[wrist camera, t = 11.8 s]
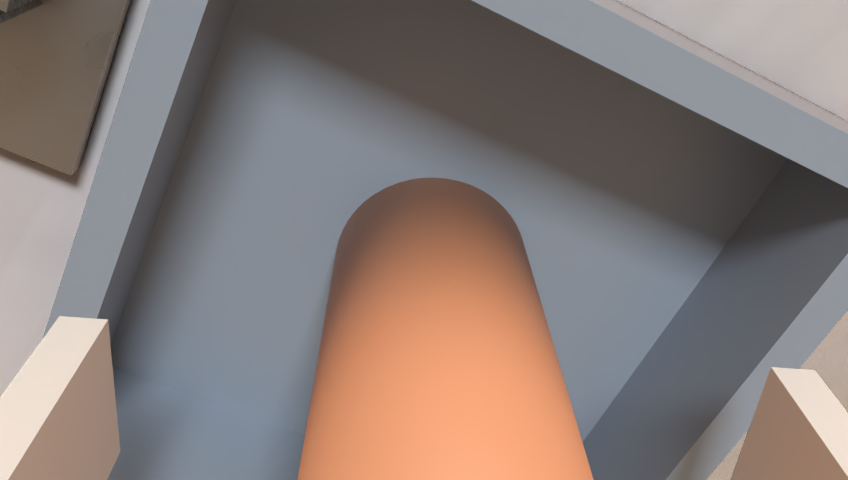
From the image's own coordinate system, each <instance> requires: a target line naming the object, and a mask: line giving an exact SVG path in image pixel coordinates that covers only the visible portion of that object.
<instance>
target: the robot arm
mask: <svg viewBox="0 0 848 480" xmlns="http://www.w3.org/2000/svg"><path fill="white" fill-rule="evenodd" d="M119 453H120V442H119V431H118V420H117V409H116V399H115V388H114V377H113V366H112V356H111V345H110V334H109V323H108V319H94V318H80V317H66V316H59V317H58V319H57V320H56V321H55V323H54V324H53V326H52V327H51V328H50V330H49V331H48V332H47V334H46V335H45V337H44V338H43V339H42V341H41V342H40V343H39V345H38V346H37V347H36V349H35V350H34V352H33V353H32V354H31V356H30V357H29V358H28V360H27V361H26V362H25V364H24V365H23V367H22V368H21V369H20V371H19V372H18V373H17V375H16V376H15V378H14V379H13V380H12V382H11V383H10V384H9V386H8V387H7V388H6V390H5V391H4V393H3V394H2V395H1V397H0V480H107V479H108V477H109V475H110V472H111V470H112V468H113V466H114V464H115V462H116V460H117V458H118V455H119ZM731 480H848V413H847V411H846V410H845V409H844V407H843V406H842V405H841V404H840V402H839V401H838V400H837V398H836V397H835V396H834V395H833V393H832V392H831V391H830V389H829V388H828V387H827V385H826V384H825V383H824V382H823V380H822V379H821V378H820V376H819V375H818V374H817V373H816V371H815V370H806V369H792V368H778V367H771V369H770V372H769V374H768V377H767V380H766V383H765V386H764V388H763V391H762V394H761V397H760V399H759V402H758V405H757V408H756V411H755V413H754V416H753V419H752V422H751V424H750V427H749V430H748V433H747V436H746V438H745V441H744V444H743V447H742V449H741V452H740V455H739V458H738V460H737V463H736V466H735V469H734V472H733V474H732V477H731Z"/></svg>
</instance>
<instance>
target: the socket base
mask: <svg viewBox="0 0 848 480" xmlns="http://www.w3.org/2000/svg"><path fill="white" fill-rule="evenodd" d="M129 3H130V0H0V148H2V149H4V150H7V151H9V152H12V153H15V154H17V155H20V156H22V157H25V158H27V159H30V160H32V161H35V162H37V163H40V164H42V165H45V166H47V167H50V168H52V169H55V170H57V171H60V172H62V173H65V174H67V175H70V176H71V175H72V174H73V173H74V172H75V171H76V170H77V169H78V168H79V166H80V163H81V159H82V156H83V153H84V150H85V146H86V143H87V140H88V137H89V133H90V130H91V127H92V124H93V120H94V117H95V114H96V111H97V107H98V104H99V101H100V98H101V94H102V91H103V88H104V85H105V81H106V78H107V75H108V72H109V68H110V65H111V62H112V59H113V55H114V52H115V49H116V46H117V42H118V39H119V36H120V33H121V29H122V26H123V23H124V20H125V16H126V13H127V10H128V7H129Z"/></svg>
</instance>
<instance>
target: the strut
mask: <svg viewBox="0 0 848 480" xmlns="http://www.w3.org/2000/svg"><path fill="white" fill-rule="evenodd" d="M297 480H594V479H593V476H592V473H591V469H590V466H589V462H588V459H587V456H586V452H585V449H584V446H583V442H582V439H581V435H580V432H579V429H578V425H577V422H576V419H575V415H574V412H573V408H572V405H571V402H570V398H569V395H568V391H567V388H566V385H565V381H564V378H563V375H562V371H561V368H560V364H559V361H558V358H557V354H556V351H555V348H554V344H553V341H552V337H551V334H550V331H549V327H548V324H547V320H546V317H545V314H544V310H543V307H542V304H541V300H540V297H539V293H538V290H537V287H536V283H535V280H534V277H533V273H532V270H531V266H530V263H529V260H528V256H527V253H526V249H525V246H524V243H523V239H522V236H521V234H520V231H519V229H518V226H517V225H516V223H515V221H514V220H513V218H512V216H511V215H510V214H509V213H508V211H507V210H506V209H505V208H504V207H503V206H502V205H501V204H500V203H499V202H498V201H497V200H496V199H494V198H493V197H492V196H490V195H489V194H487V193H486V192H484V191H482V190H480V189H479V188H477V187H475V186H472V185H470V184H467V183H464V182H461V181H457V180H452V179H446V178H437V177H434V178H417V179H410V180H407V181H403V182H399V183H396V184H394V185H391V186H389V187H386V188H384V189H383V190H381V191H379V192H377V193H375V194H374V195H373V196H371V197H370V198H369V199H367V200H366V201H365V202H364V203H363V204H362V205H361V206H359V207H358V208H357V209H356V211H355V212H354V213H353V214H352V216H351V217H350V218H349V220H348V221H347V223H346V225H345V227H344V228H343V230H342V233H341V236H340V238H339V241H338V245H337V250H336V255H335V261H334V267H333V273H332V279H331V284H330V290H329V296H328V302H327V308H326V314H325V320H324V326H323V332H322V338H321V343H320V349H319V355H318V361H317V367H316V373H315V379H314V385H313V391H312V396H311V402H310V408H309V414H308V420H307V426H306V432H305V438H304V444H303V450H302V455H301V461H300V467H299V473H298V479H297Z"/></svg>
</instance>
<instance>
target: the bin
mask: <svg viewBox="0 0 848 480" xmlns="http://www.w3.org/2000/svg"><path fill="white" fill-rule="evenodd" d="M434 177H437V178H446V179H452V180H457V181H461V182H464V183H467V184H470V185H472V186H475V187H477V188H479V189H480V190H482V191H484V192H486V193H487V194H489V195H490V196H492V197H493V198H494V199H496V200H497V201H498V202H499V203H500V204H501V205H502V206H503V207H504V208H505V209H506V210H507V211H508V213H509V214H510V215H511V216H512V218H513V220H514V221H515V223H516V225H517V226H518V229H519V231H520V234H521V236H522V239H523V243H524V246H525V249H526V253H527V256H528V260H529V263H530V266H531V270H532V273H533V277H534V280H535V283H536V287H537V290H538V293H539V297H540V300H541V304H542V307H543V310H544V314H545V317H546V320H547V324H548V327H549V331H550V334H551V337H552V341H553V344H554V348H555V351H556V354H557V358H558V361H559V364H560V368H561V371H562V375H563V378H564V381H565V385H566V388H567V391H568V395H569V398H570V402H571V405H572V408H573V412H574V415H575V419H576V422H577V425H578V429H579V432H580V435H581V439H582V442H583V446H584V449H585V452H586V456H587V459H588V462H589V466H590V469H591V473H592V476H593V479H594V480H706V479H707V478H708V477H709V476H710V475H711V473H712V472H713V471H714V470H715V469H716V467H717V466H718V465H719V464H720V463H721V462H722V460H723V459H724V458H725V457H726V456H727V454H728V453H729V452H730V451H731V450H732V448H733V447H734V446H735V445H736V444H737V442H738V441H739V440H740V439H741V438H742V436H743V435H744V434H745V433H746V432H747V430H748V429H749V427H750V424H751V422H752V419H753V416H754V413H755V411H756V408H757V405H758V402H759V399H760V397H761V394H762V391H763V388H764V386H765V383H766V380H767V377H768V374H769V372H770V369H771V367H778V368H792V369H799V368H800V367H801V366H802V365H803V363H804V362H805V361H806V360H807V359H808V357H809V356H810V355H811V354H812V353H813V351H814V350H815V349H816V348H817V347H818V345H819V344H820V343H821V342H822V341H823V339H824V338H825V337H826V336H827V335H828V333H829V332H830V331H831V330H832V329H833V327H834V326H835V325H836V324H837V323H838V321H839V320H840V319H841V318H842V317H843V315H844V314H845V313H846V312H847V311H848V122H847V121H845V120H844V119H842V118H840V117H839V116H837V115H835V114H833V113H831V112H829V111H827V110H825V109H823V108H822V107H820V106H818V105H816V104H814V103H812V102H810V101H808V100H806V99H804V98H802V97H800V96H799V95H797V94H795V93H793V92H791V91H789V90H787V89H785V88H783V87H781V86H779V85H777V84H776V83H774V82H772V81H770V80H768V79H766V78H764V77H762V76H760V75H758V74H756V73H754V72H753V71H751V70H749V69H747V68H745V67H743V66H741V65H739V64H737V63H735V62H733V61H731V60H730V59H728V58H726V57H724V56H722V55H720V54H718V53H716V52H714V51H712V50H710V49H708V48H707V47H705V46H703V45H701V44H699V43H697V42H695V41H693V40H691V39H689V38H687V37H686V36H684V35H682V34H680V33H678V32H676V31H674V30H672V29H670V28H668V27H666V26H664V25H663V24H661V23H659V22H657V21H655V20H653V19H651V18H649V17H647V16H645V15H643V14H641V13H640V12H638V11H636V10H634V9H632V8H630V7H628V6H626V5H624V4H622V3H620V2H618V1H617V0H151V1H150V4H149V7H148V11H147V14H146V17H145V20H144V23H143V26H142V29H141V32H140V36H139V39H138V42H137V45H136V48H135V51H134V54H133V58H132V61H131V64H130V67H129V70H128V73H127V76H126V80H125V83H124V86H123V89H122V92H121V95H120V98H119V101H118V105H117V108H116V111H115V114H114V117H113V120H112V123H111V127H110V130H109V133H108V136H107V139H106V142H105V145H104V148H103V152H102V155H101V158H100V161H99V164H98V167H97V170H96V174H95V177H94V180H93V183H92V186H91V189H90V192H89V195H88V199H87V202H86V205H85V208H84V211H83V214H82V217H81V221H80V224H79V227H78V230H77V233H76V236H75V239H74V243H73V246H72V249H71V252H70V255H69V258H68V261H67V264H66V268H65V271H64V274H63V277H62V280H61V283H60V286H59V290H58V293H57V296H56V299H55V302H54V305H53V308H52V311H51V315H50V318H49V321H48V324H47V327H46V330H45V333H44V337H45V335H46V334H47V332H48V331H49V330H50V328H51V327H52V326H53V324H54V323H55V321H56V320H57V319H58V317H59V316H66V317H80V318H94V319H108V323H109V334H110V345H111V356H112V366H113V377H114V388H115V399H116V409H117V420H118V431H119V442H120V453H119V455H118V458H117V460H116V462H115V464H114V466H113V468H112V470H111V472H110V475H109V477H108V479H107V480H297V479H298V473H299V467H300V461H301V455H302V450H303V444H304V438H305V432H306V426H307V420H308V414H309V408H310V402H311V396H312V391H313V385H314V379H315V373H316V367H317V361H318V355H319V349H320V343H321V338H322V332H323V326H324V320H325V314H326V308H327V302H328V296H329V290H330V284H331V279H332V273H333V267H334V261H335V255H336V250H337V245H338V241H339V238H340V236H341V233H342V230H343V228H344V227H345V225H346V223H347V221H348V220H349V218H350V217H351V216H352V214H353V213H354V212H355V211H356V209H357V208H358V207H359V206H361V205H362V204H363V203H364V202H365V201H366V200H367V199H369V198H370V197H371V196H373V195H374V194H375V193H377V192H379V191H381V190H383V189H384V188H386V187H389V186H391V185H394V184H396V183H399V182H403V181H407V180H410V179H417V178H434ZM44 337H43V338H44Z"/></svg>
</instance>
